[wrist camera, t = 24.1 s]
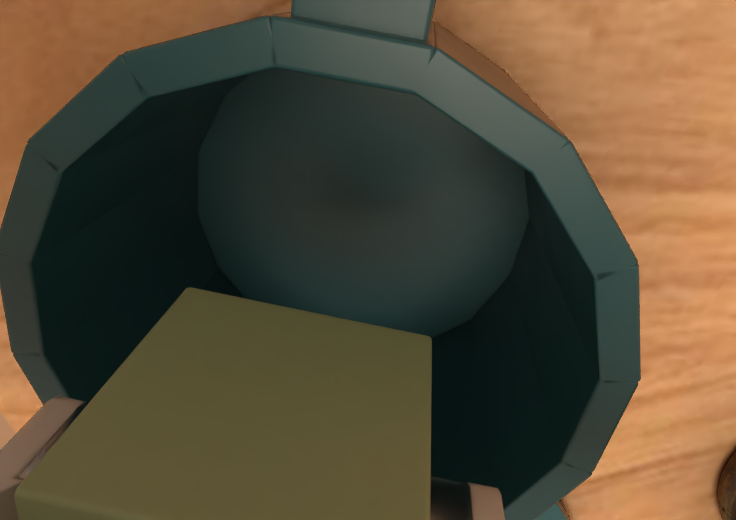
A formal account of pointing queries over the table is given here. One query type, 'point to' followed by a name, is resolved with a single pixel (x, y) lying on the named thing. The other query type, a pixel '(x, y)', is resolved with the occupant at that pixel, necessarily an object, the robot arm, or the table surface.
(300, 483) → the block
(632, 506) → the table surface
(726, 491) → the container
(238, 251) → the pot
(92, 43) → the table surface
